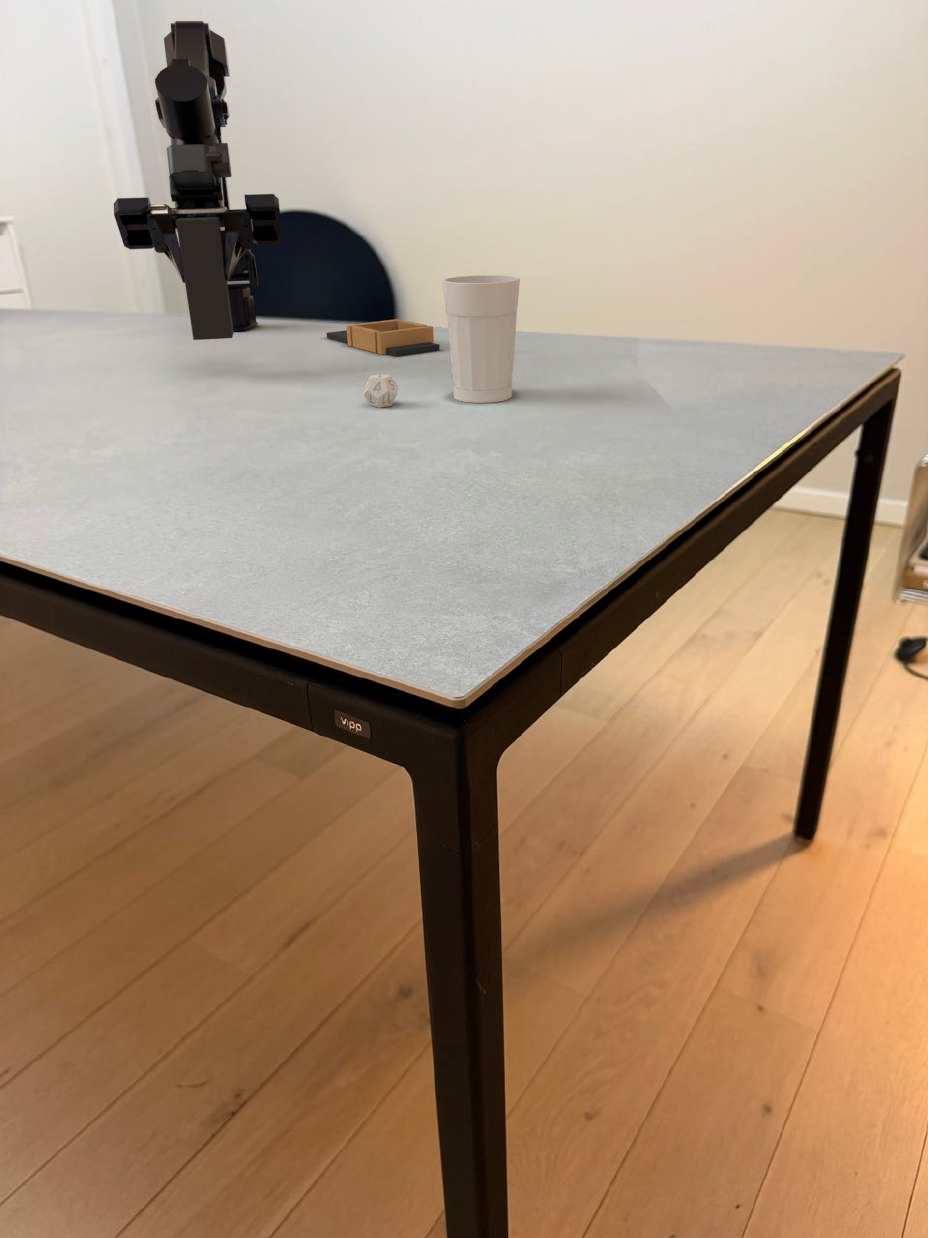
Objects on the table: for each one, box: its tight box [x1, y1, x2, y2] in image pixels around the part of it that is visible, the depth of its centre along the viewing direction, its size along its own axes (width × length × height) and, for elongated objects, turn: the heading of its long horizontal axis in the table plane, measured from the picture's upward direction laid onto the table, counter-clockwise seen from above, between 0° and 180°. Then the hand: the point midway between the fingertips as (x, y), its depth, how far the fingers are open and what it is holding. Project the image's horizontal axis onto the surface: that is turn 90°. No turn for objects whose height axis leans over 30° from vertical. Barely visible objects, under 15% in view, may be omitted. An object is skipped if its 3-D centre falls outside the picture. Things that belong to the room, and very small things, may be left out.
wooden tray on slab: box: [326, 318, 440, 357], centre depth 131 cm, size 20×8×3 cm, turn 35°
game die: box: [363, 373, 399, 409], centre depth 96 cm, size 4×4×3 cm
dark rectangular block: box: [176, 217, 235, 341], centre depth 108 cm, size 4×4×13 cm
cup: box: [441, 274, 521, 404], centre depth 97 cm, size 8×8×12 cm
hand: (205, 279), depth 106 cm, fingers closed on dark rectangular block, 4 cm apart
